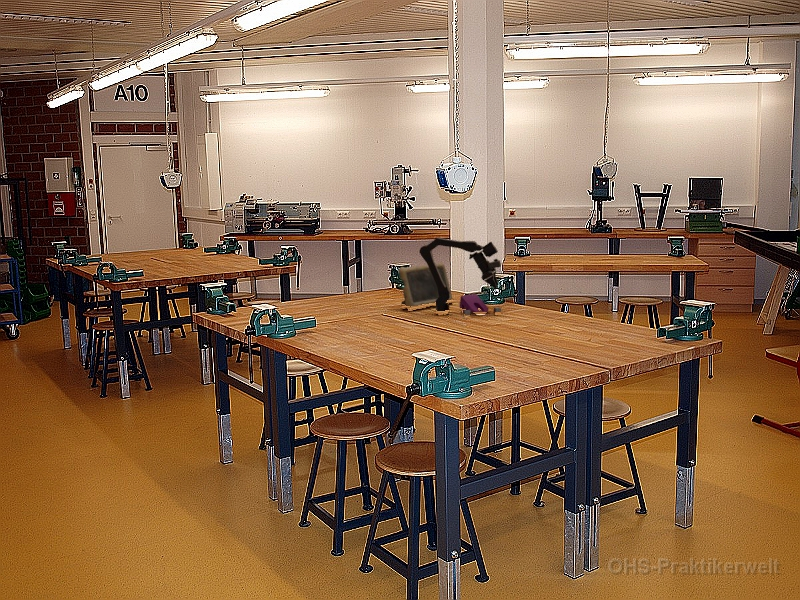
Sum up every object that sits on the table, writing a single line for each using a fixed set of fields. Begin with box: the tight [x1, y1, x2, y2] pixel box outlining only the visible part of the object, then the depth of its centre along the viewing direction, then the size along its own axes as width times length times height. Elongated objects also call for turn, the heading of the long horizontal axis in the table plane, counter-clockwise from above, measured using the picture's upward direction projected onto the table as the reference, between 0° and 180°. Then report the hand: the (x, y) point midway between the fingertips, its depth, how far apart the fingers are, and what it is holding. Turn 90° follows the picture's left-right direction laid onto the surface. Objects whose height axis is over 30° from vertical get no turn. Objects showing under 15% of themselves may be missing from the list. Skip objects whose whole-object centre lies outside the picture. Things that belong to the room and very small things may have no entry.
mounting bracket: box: [459, 293, 489, 313], centre depth 445 cm, size 10×8×18 cm
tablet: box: [397, 261, 453, 307], centre depth 472 cm, size 33×14×25 cm, turn 133°
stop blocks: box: [462, 306, 502, 315], centre depth 434 cm, size 20×3×4 cm, turn 104°
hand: (497, 286), depth 439 cm, fingers open, 9 cm apart
